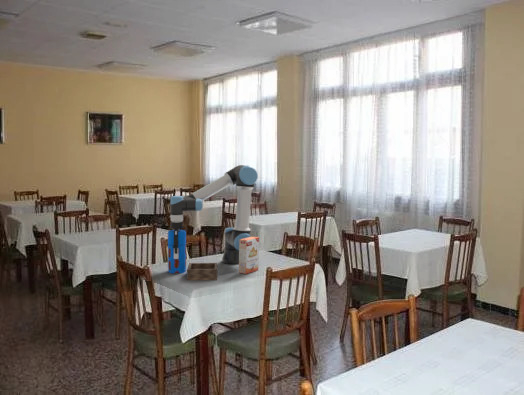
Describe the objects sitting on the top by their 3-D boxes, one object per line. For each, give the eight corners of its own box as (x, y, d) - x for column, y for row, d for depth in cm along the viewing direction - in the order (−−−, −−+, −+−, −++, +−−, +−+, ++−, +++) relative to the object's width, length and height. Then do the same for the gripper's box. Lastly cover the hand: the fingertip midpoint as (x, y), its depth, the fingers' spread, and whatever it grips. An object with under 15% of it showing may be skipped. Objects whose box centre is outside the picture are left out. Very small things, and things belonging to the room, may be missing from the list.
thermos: (185, 273, 310) (185, 232, 307) (167, 273, 309) (167, 232, 306) (186, 269, 320) (186, 229, 318) (169, 269, 320) (168, 229, 317)
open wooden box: (217, 272, 313) (217, 262, 312) (216, 279, 296) (216, 269, 296) (189, 272, 312) (189, 263, 311) (187, 279, 295) (187, 269, 294)
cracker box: (246, 274, 308) (246, 240, 306) (238, 273, 312) (238, 239, 310) (259, 270, 320) (259, 237, 318) (251, 268, 323) (251, 236, 321)
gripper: (172, 218, 323) (172, 252, 325) (168, 224, 299) (168, 260, 301) (184, 218, 324) (184, 252, 326) (181, 224, 300) (181, 260, 302)
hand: (177, 256), depth 314 cm, fingers open, 12 cm apart
